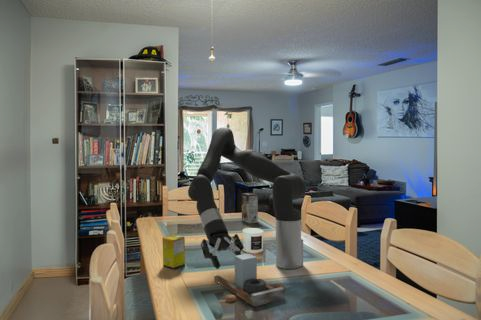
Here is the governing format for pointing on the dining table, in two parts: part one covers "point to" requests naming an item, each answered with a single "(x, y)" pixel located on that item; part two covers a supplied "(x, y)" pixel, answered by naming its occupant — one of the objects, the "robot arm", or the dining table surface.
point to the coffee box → (249, 207)
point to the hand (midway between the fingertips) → (229, 265)
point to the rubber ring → (254, 286)
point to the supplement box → (173, 251)
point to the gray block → (245, 269)
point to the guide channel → (256, 298)
